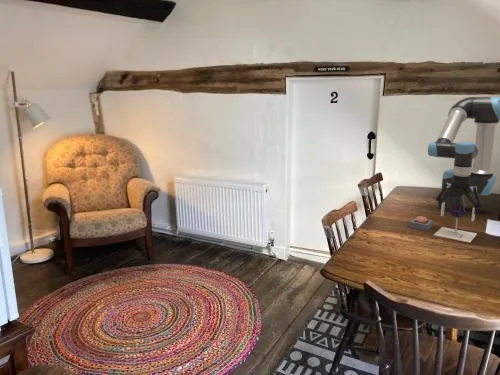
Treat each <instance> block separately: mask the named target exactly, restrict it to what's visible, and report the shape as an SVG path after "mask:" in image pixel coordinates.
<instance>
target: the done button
mask: <svg viewBox="0 0 500 375" xmlns="http://www.w3.org/2000/svg"><path fill="white" fill-rule="evenodd" d="M415 218H416V222H417V223H423V224H426V223H427V220H428V218H427V217H426V216H422V215H421V216H419V215H418V216H416V217H415Z"/></svg>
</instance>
